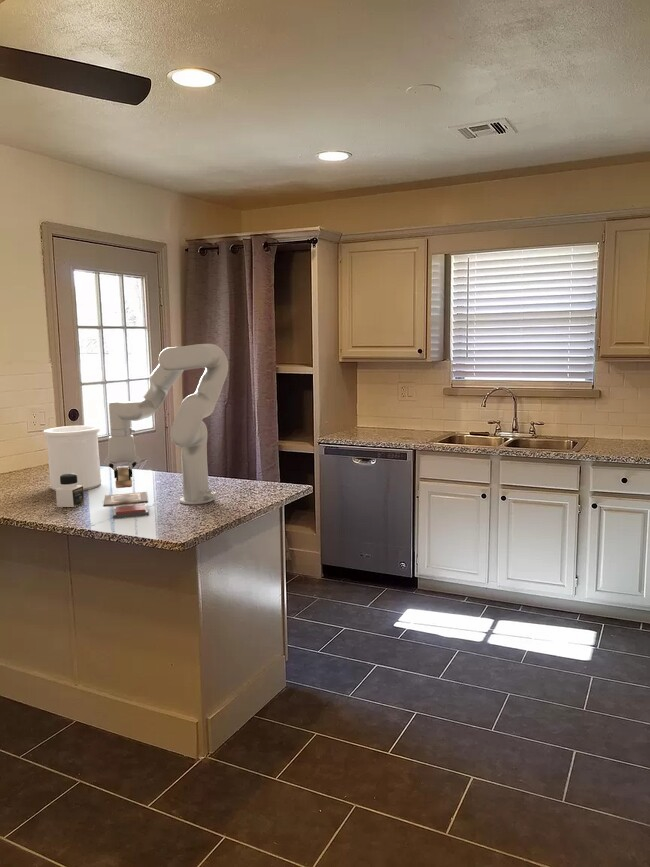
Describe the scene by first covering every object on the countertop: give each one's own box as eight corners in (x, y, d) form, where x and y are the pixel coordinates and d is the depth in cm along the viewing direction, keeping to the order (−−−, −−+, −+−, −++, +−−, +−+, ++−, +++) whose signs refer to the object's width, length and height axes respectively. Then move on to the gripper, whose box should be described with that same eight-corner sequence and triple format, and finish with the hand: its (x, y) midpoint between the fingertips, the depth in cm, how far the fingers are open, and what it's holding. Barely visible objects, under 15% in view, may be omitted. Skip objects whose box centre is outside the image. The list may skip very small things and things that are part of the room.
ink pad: (148, 508, 248) (147, 503, 248) (148, 515, 239) (148, 509, 239) (113, 511, 245) (113, 506, 245) (113, 518, 236) (112, 513, 235)
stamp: (132, 483, 267) (130, 465, 265) (132, 487, 261) (131, 468, 260) (116, 484, 265) (114, 466, 264) (115, 488, 259) (114, 469, 258)
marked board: (146, 493, 273) (146, 491, 273) (147, 502, 258) (147, 500, 258) (105, 496, 269) (104, 495, 269) (103, 506, 254) (103, 504, 254)
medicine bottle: (74, 508, 253) (71, 476, 251) (56, 507, 254) (54, 476, 252) (84, 503, 260) (82, 472, 258) (67, 502, 261) (65, 472, 259)
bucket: (107, 489, 282) (103, 429, 279) (50, 496, 273) (44, 434, 269) (99, 478, 305) (95, 423, 302) (46, 484, 296) (41, 427, 292)
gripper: (143, 430, 266) (145, 476, 268) (98, 432, 261) (101, 479, 264) (143, 432, 258) (146, 479, 261) (97, 435, 254) (100, 483, 257)
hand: (123, 479), depth 262 cm, fingers closed on stamp, 4 cm apart
